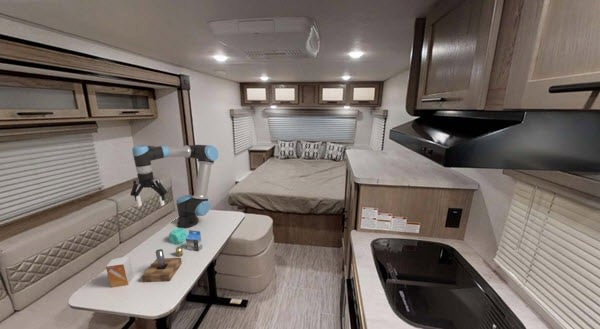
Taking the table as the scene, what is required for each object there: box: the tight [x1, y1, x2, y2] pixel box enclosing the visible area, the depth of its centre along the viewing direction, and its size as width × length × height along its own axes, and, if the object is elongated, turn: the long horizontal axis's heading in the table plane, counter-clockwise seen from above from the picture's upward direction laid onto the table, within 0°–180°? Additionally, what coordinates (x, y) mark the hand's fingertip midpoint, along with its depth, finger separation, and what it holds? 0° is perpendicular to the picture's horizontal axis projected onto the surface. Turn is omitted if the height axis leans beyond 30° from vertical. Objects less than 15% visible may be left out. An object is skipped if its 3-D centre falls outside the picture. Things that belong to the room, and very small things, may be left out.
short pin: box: [175, 246, 184, 258], centre depth 139 cm, size 3×3×5 cm
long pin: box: [155, 248, 166, 269], centre depth 124 cm, size 3×3×14 cm
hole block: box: [141, 257, 183, 283], centre depth 125 cm, size 14×14×4 cm
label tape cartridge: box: [185, 229, 203, 252], centre depth 145 cm, size 9×4×12 cm, turn 79°
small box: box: [105, 256, 135, 288], centre depth 117 cm, size 8×6×13 cm
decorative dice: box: [168, 227, 188, 245], centre depth 154 cm, size 8×8×8 cm
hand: (151, 205), depth 135 cm, fingers open, 13 cm apart
